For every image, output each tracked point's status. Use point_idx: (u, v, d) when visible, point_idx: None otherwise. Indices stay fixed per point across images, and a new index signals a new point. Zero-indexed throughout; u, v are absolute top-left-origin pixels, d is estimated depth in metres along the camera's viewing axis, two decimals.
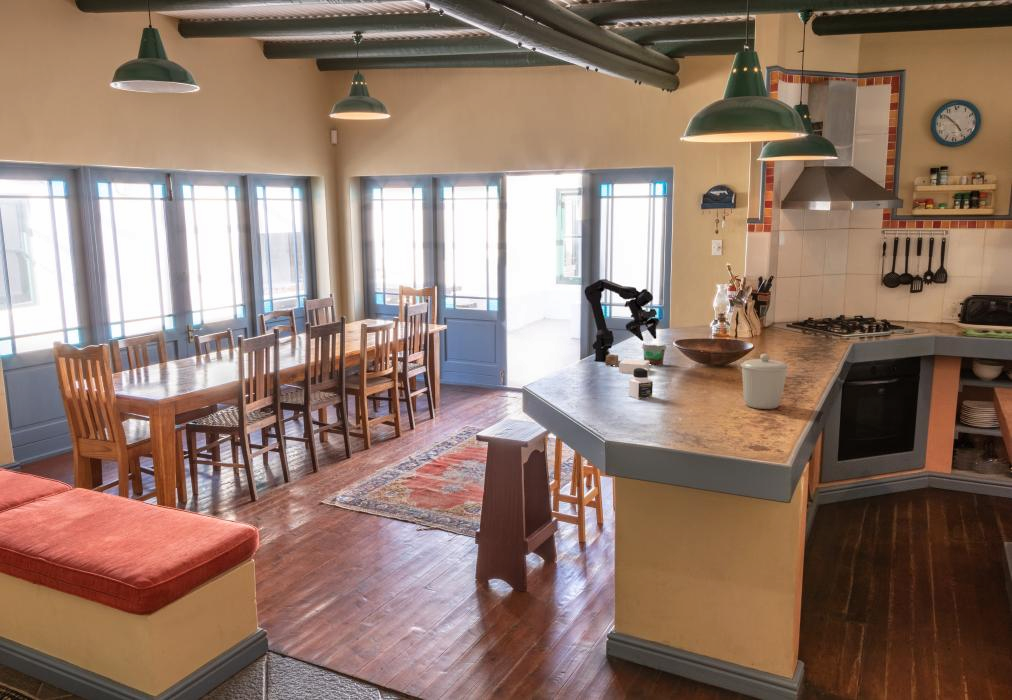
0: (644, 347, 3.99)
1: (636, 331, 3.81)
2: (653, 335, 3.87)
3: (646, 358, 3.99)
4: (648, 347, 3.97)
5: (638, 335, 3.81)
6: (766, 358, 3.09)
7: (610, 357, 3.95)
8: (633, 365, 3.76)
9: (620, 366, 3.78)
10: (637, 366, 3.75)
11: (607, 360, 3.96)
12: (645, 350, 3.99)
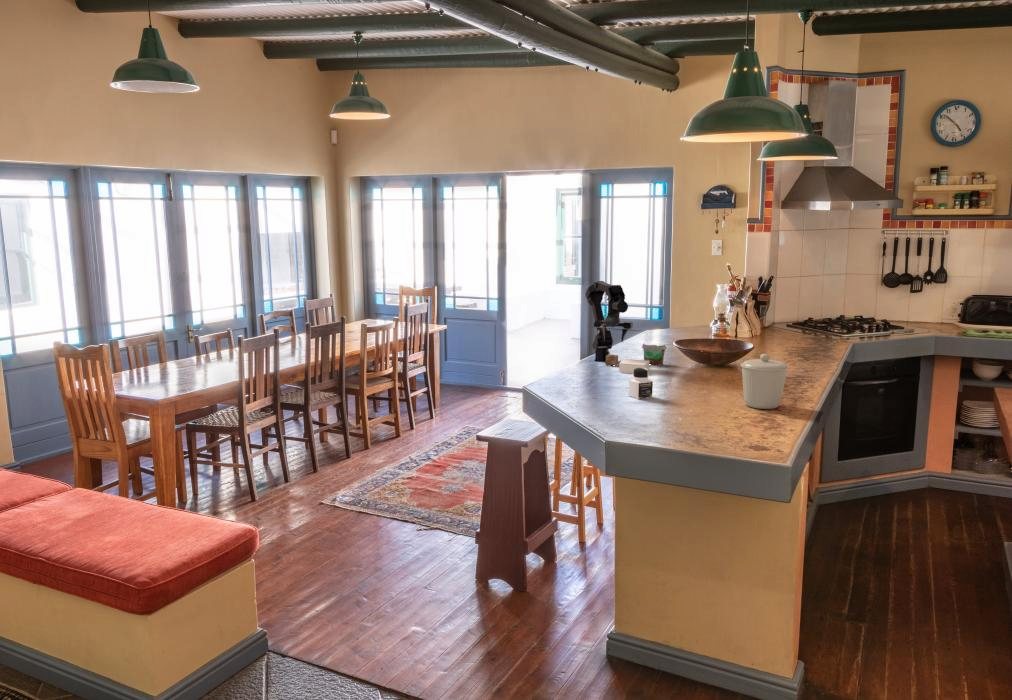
0: (644, 347, 3.99)
1: None
2: None
3: (646, 358, 3.99)
4: (648, 347, 3.97)
5: None
6: (766, 358, 3.09)
7: (610, 357, 3.95)
8: (633, 365, 3.76)
9: (620, 366, 3.78)
10: (637, 366, 3.75)
11: (607, 360, 3.96)
12: (645, 350, 3.99)
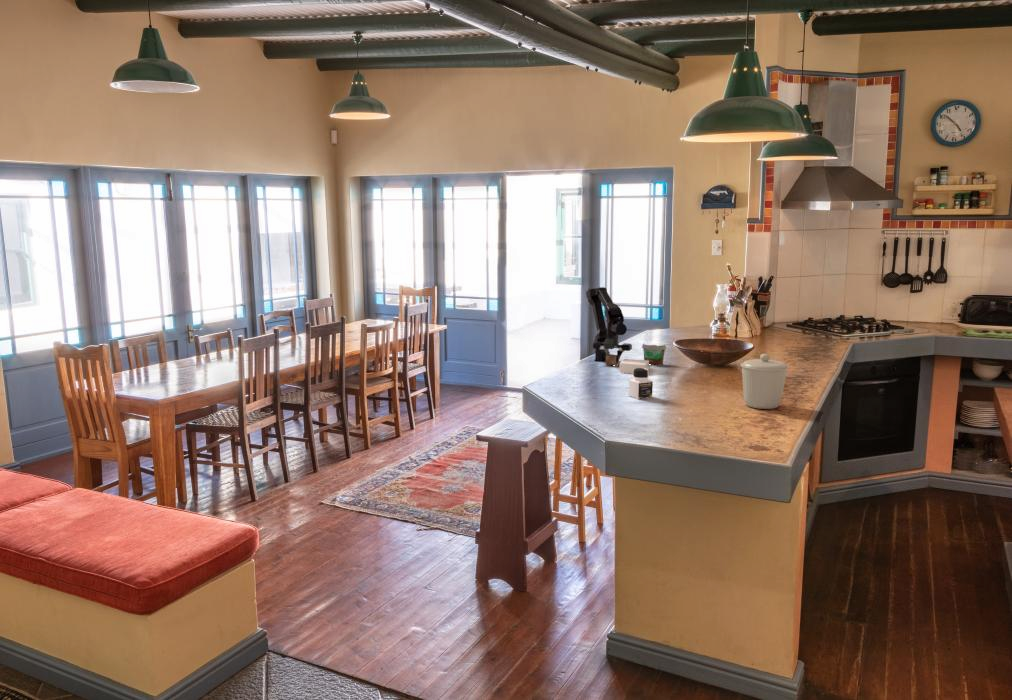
0: (644, 347, 3.99)
1: None
2: None
3: (646, 358, 3.99)
4: (648, 347, 3.97)
5: None
6: (766, 358, 3.09)
7: (610, 357, 3.95)
8: (634, 365, 3.76)
9: (620, 366, 3.78)
10: (638, 366, 3.75)
11: (607, 360, 3.95)
12: (645, 350, 3.99)
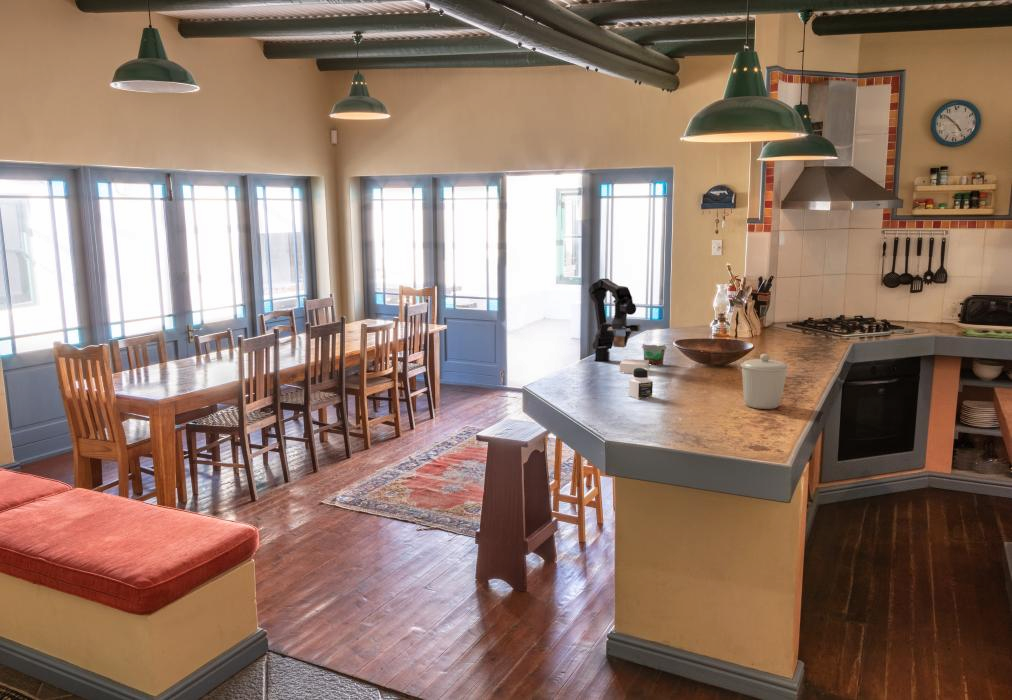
0: (644, 347, 3.99)
1: None
2: None
3: (646, 358, 3.99)
4: (648, 347, 3.97)
5: None
6: (766, 358, 3.09)
7: (618, 338, 3.87)
8: (634, 365, 3.76)
9: (621, 366, 3.78)
10: (638, 366, 3.75)
11: (615, 341, 3.88)
12: (645, 350, 3.99)
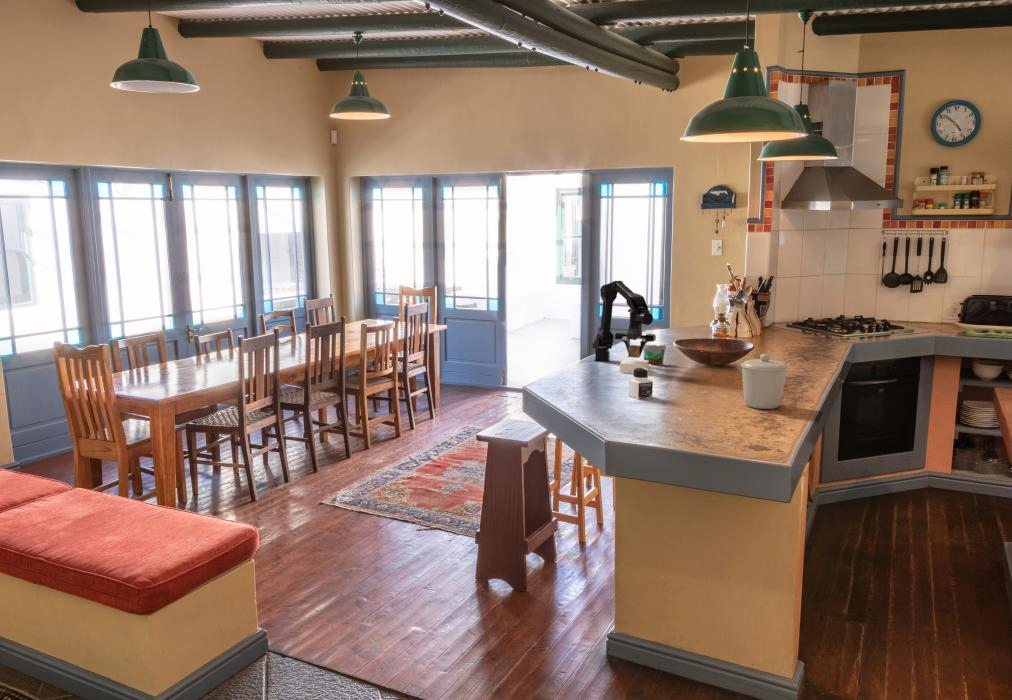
0: (644, 347, 3.99)
1: None
2: None
3: (646, 358, 3.99)
4: (648, 347, 3.97)
5: None
6: (766, 358, 3.09)
7: (633, 348, 3.78)
8: (634, 365, 3.76)
9: (621, 366, 3.78)
10: (638, 366, 3.75)
11: (630, 351, 3.79)
12: (645, 350, 3.99)
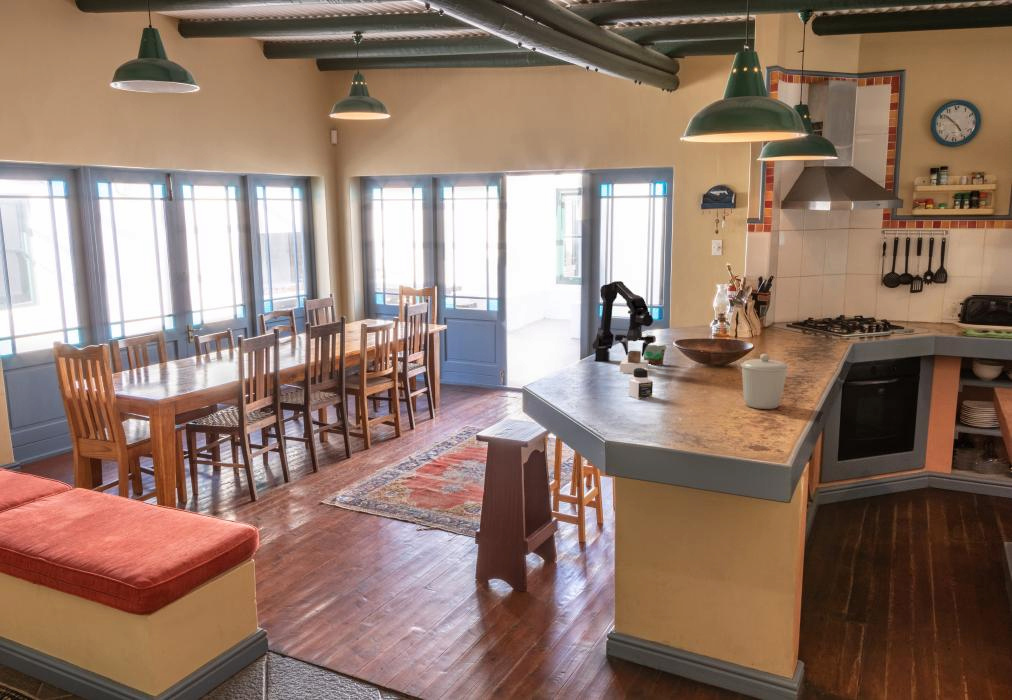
0: None
1: None
2: (642, 352, 3.80)
3: (646, 358, 3.99)
4: (648, 347, 3.97)
5: None
6: (766, 358, 3.09)
7: (632, 353, 3.79)
8: (634, 365, 3.76)
9: (621, 366, 3.78)
10: (638, 366, 3.75)
11: (629, 356, 3.79)
12: (645, 350, 3.99)
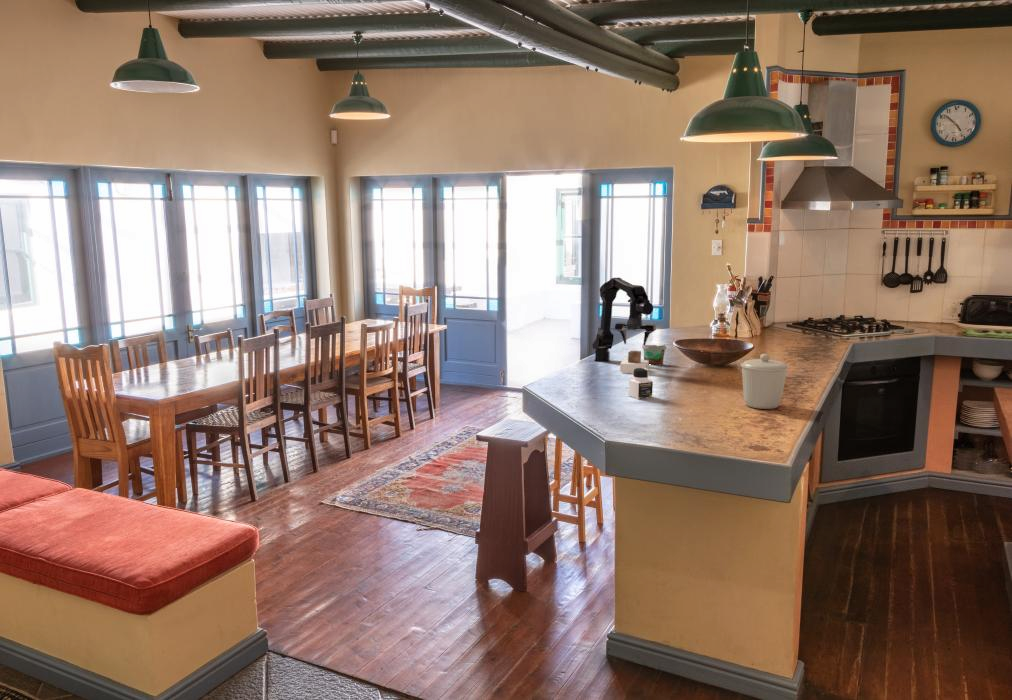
0: (644, 347, 3.99)
1: None
2: (644, 341, 3.79)
3: (646, 358, 3.99)
4: (648, 347, 3.97)
5: None
6: (766, 358, 3.09)
7: (633, 353, 3.79)
8: (635, 365, 3.76)
9: (621, 367, 3.77)
10: (639, 366, 3.75)
11: (630, 356, 3.79)
12: (645, 350, 3.99)
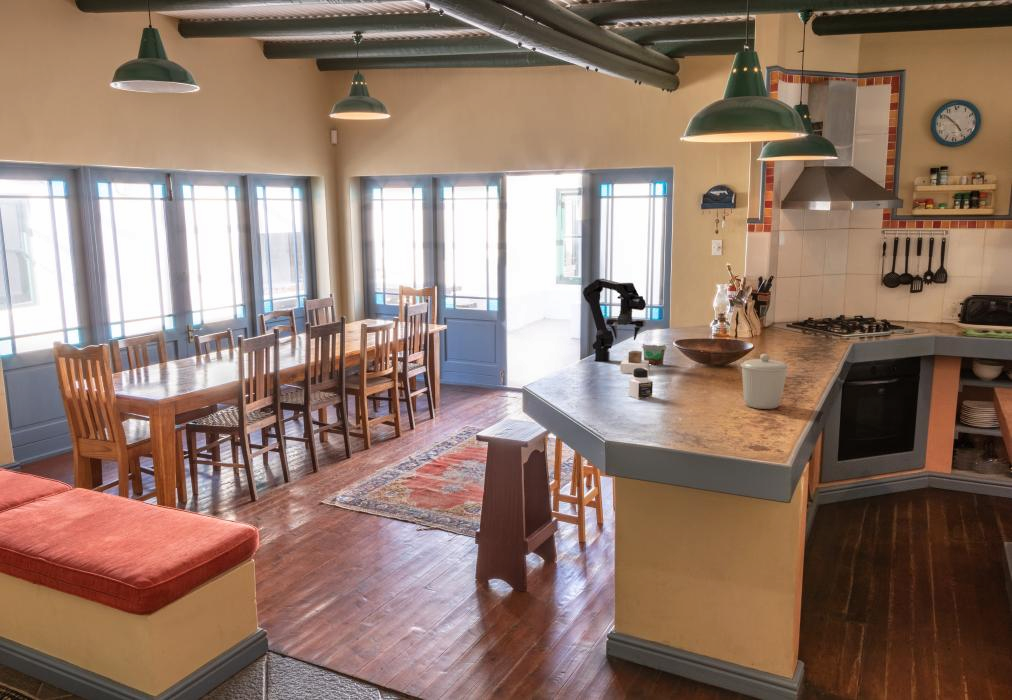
0: (644, 347, 3.99)
1: None
2: None
3: (646, 358, 3.99)
4: (648, 347, 3.97)
5: None
6: (766, 358, 3.09)
7: (633, 353, 3.78)
8: (635, 365, 3.75)
9: (621, 367, 3.77)
10: (639, 366, 3.75)
11: (630, 356, 3.79)
12: (645, 350, 3.99)
